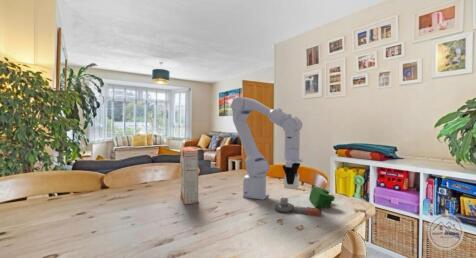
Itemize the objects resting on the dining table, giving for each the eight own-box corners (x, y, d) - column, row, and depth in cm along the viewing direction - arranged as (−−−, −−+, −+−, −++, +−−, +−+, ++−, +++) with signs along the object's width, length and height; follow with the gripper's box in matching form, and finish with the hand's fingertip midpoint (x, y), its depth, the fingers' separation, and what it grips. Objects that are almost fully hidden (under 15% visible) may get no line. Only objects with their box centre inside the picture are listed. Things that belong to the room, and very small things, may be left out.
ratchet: (272, 211, 91) (272, 200, 91) (277, 205, 98) (277, 195, 97) (320, 218, 85) (321, 206, 85) (322, 211, 92) (322, 200, 91)
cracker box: (179, 195, 110) (179, 147, 110) (193, 193, 112) (193, 146, 112) (182, 205, 97) (183, 150, 96) (198, 203, 99) (198, 150, 98)
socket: (284, 188, 98) (284, 175, 98) (286, 185, 103) (286, 173, 103) (297, 189, 97) (297, 176, 96) (298, 186, 101) (299, 174, 101)
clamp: (327, 219, 96) (336, 201, 92) (312, 215, 96) (320, 196, 92) (322, 198, 107) (330, 181, 103) (308, 194, 107) (316, 177, 103)
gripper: (300, 150, 91) (299, 188, 92) (304, 146, 105) (303, 179, 105) (280, 149, 94) (280, 186, 94) (287, 146, 107) (286, 178, 108)
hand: (291, 182), depth 100 cm, fingers closed on socket, 5 cm apart
